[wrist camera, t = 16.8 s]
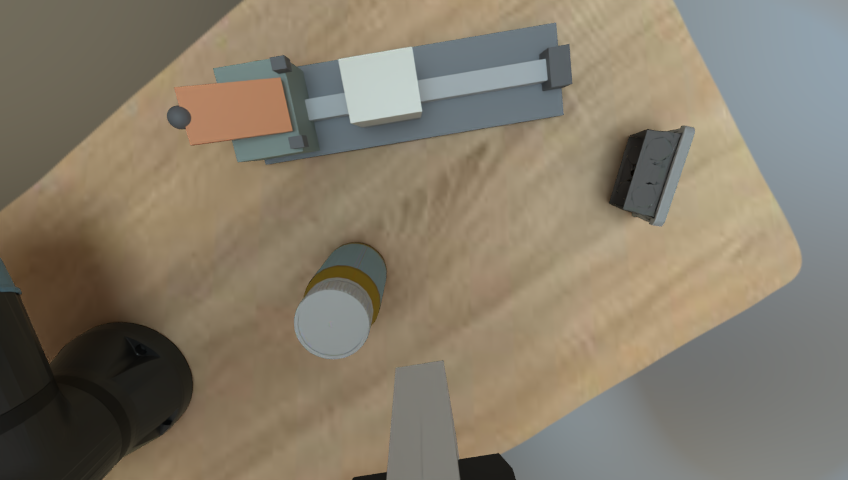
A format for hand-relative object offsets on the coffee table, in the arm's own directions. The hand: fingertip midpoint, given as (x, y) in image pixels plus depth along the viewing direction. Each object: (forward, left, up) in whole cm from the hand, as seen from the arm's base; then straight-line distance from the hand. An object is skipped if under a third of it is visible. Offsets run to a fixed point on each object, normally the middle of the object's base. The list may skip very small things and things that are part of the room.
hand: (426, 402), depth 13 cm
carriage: (-1, +13, -33) cm, 35 cm away
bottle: (-8, -5, -35) cm, 36 cm away
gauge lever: (-9, +13, -26) cm, 30 cm away
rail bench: (+1, +13, -34) cm, 37 cm away
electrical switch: (+24, +1, -35) cm, 42 cm away
